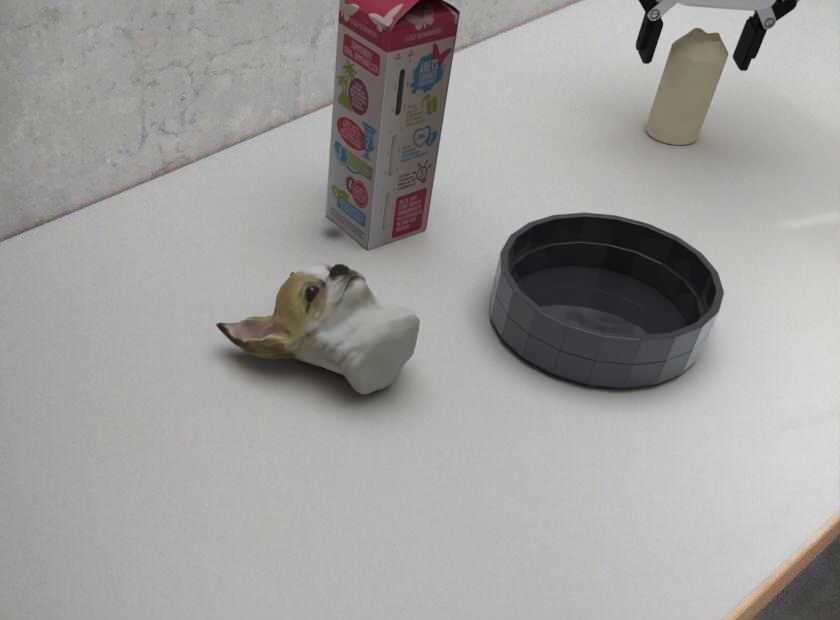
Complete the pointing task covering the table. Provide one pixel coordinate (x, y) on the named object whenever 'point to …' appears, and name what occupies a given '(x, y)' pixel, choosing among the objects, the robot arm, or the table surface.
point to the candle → (687, 87)
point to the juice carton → (388, 115)
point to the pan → (604, 299)
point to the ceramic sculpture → (332, 327)
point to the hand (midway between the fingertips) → (691, 61)
